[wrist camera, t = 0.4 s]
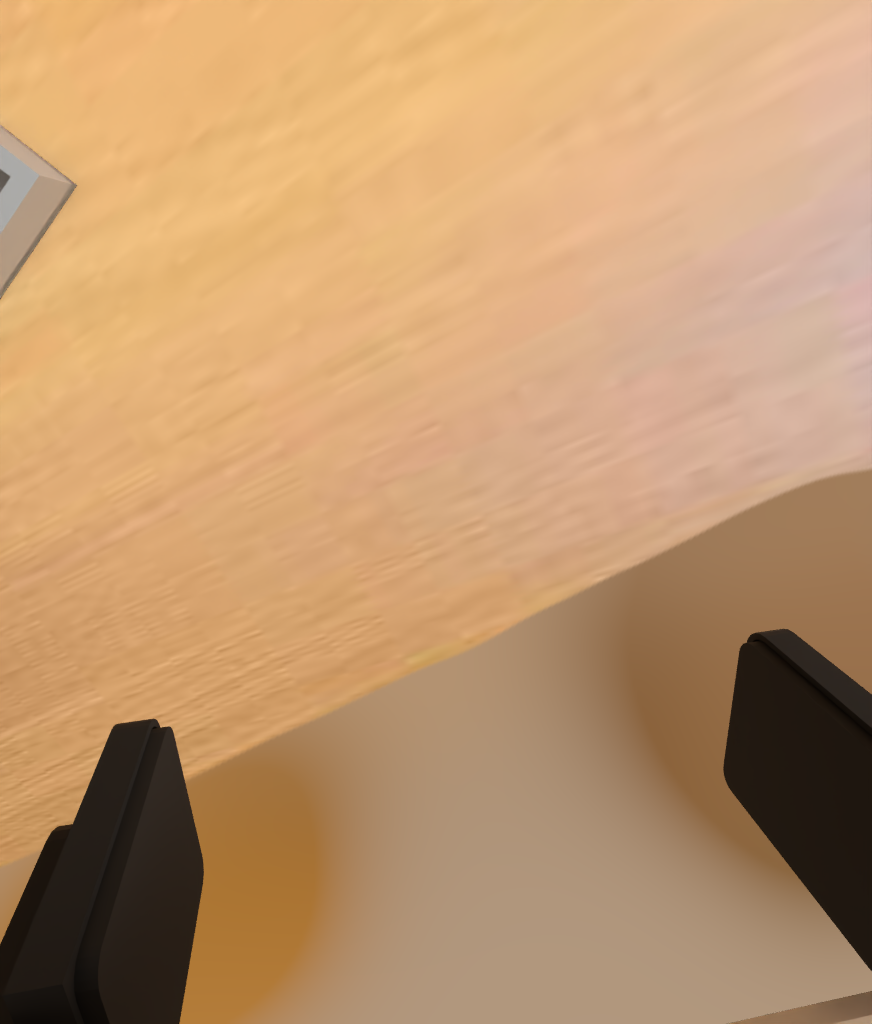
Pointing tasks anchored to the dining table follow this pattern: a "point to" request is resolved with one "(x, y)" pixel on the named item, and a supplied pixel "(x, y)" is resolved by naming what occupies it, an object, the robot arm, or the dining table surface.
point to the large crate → (25, 203)
